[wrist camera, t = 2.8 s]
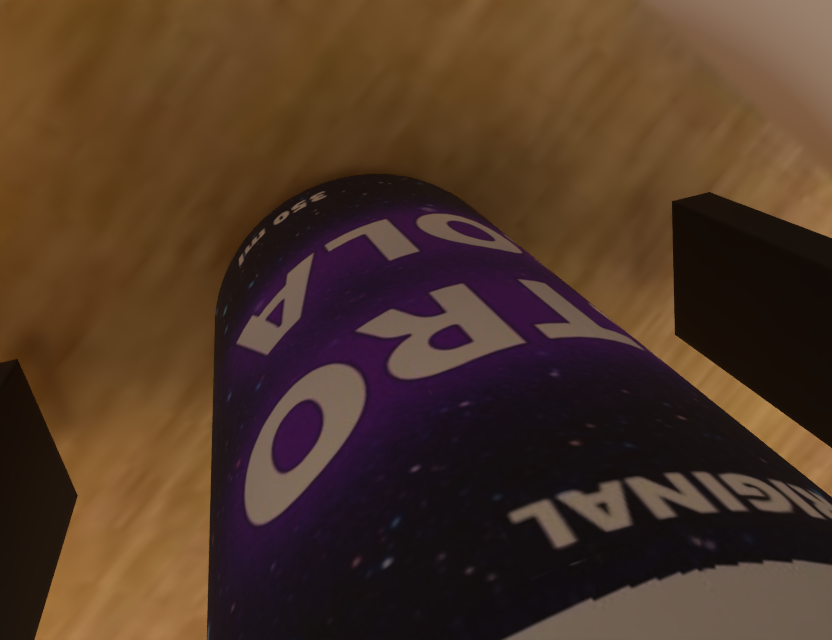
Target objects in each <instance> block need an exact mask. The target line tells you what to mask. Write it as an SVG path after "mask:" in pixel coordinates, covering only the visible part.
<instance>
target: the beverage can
mask: <svg viewBox="0 0 832 640" xmlns="http://www.w3.org/2000/svg"><path fill="white" fill-rule="evenodd" d="M207 640H832V497H831V496H829V495H828V494H827V493H826V492H824V491H823V490H822V489H821V488H819V487H818V486H817V485H816V484H814V483H813V482H812V481H811V480H809V479H808V478H807V477H806V476H804V475H803V474H802V473H801V472H800V471H798V470H797V469H796V468H795V467H793V466H792V465H791V464H790V463H788V462H787V461H786V460H785V459H783V458H782V457H781V456H780V455H778V454H777V453H776V452H775V451H773V450H772V449H771V448H770V447H768V446H767V445H766V444H765V443H764V442H762V441H761V440H760V439H759V438H757V437H756V436H755V435H754V434H752V433H751V432H750V431H749V430H747V429H746V428H745V427H744V426H742V425H741V424H740V423H739V422H737V421H736V420H735V419H734V418H732V417H731V416H730V415H729V414H728V413H726V412H725V411H724V410H723V409H721V408H720V407H719V406H718V405H716V404H715V403H714V402H713V401H711V400H710V399H709V398H708V397H706V396H705V395H704V394H703V393H701V392H700V391H699V390H698V389H696V388H695V387H694V386H693V385H692V384H690V383H689V382H688V381H687V380H685V379H684V378H683V377H682V376H680V375H679V374H678V373H677V372H675V371H674V370H673V369H672V368H670V367H669V366H668V365H667V364H665V363H664V362H663V361H662V360H660V359H659V358H658V357H657V356H656V355H654V354H653V353H652V352H651V351H649V350H648V349H647V348H646V347H644V346H643V345H642V344H641V343H639V342H638V341H637V340H636V339H634V338H633V337H632V336H631V335H629V334H628V333H627V332H626V331H625V330H623V329H622V328H621V327H620V326H618V325H617V324H616V323H615V322H613V321H612V320H611V319H610V318H608V317H607V316H606V315H605V314H603V313H602V312H601V311H600V310H598V309H597V308H596V307H595V306H593V305H592V304H591V303H590V302H589V301H587V300H586V299H585V298H584V297H582V296H581V295H580V294H579V293H577V292H576V291H575V290H574V289H572V288H571V287H570V286H569V285H567V284H566V283H565V282H564V281H562V280H561V279H560V278H559V277H557V276H556V275H555V274H554V273H553V272H551V271H550V270H549V269H548V268H546V267H545V266H544V265H543V264H541V263H540V262H539V261H538V260H536V259H535V258H534V257H533V256H531V255H530V254H529V253H528V252H526V251H525V250H524V249H523V248H521V247H520V246H519V245H518V244H517V243H515V242H514V241H513V240H512V239H510V238H509V237H508V236H507V235H505V234H504V233H503V232H502V231H500V230H499V229H498V228H497V227H495V226H494V225H493V224H492V223H490V222H489V221H488V220H487V219H486V218H484V217H483V216H482V215H481V214H479V213H478V212H477V211H476V210H474V209H473V208H472V207H471V206H469V205H468V204H467V203H465V202H464V201H463V200H461V199H460V198H458V197H457V196H455V195H453V194H452V193H450V192H448V191H446V190H444V189H442V188H440V187H438V186H435V185H433V184H431V183H428V182H424V181H421V180H418V179H414V178H410V177H405V176H398V175H388V174H366V175H356V176H350V177H344V178H340V179H336V180H332V181H329V182H326V183H323V184H320V185H317V186H315V187H312V188H310V189H308V190H305V191H304V192H302V193H300V194H298V195H296V196H294V197H292V198H291V199H289V200H288V201H286V202H284V203H283V204H282V205H280V206H279V207H277V208H276V209H275V210H273V211H272V212H271V213H270V214H269V215H268V216H266V217H265V218H264V219H263V220H262V221H261V222H260V223H259V224H258V225H257V226H256V227H255V228H254V229H253V230H252V232H251V233H250V234H249V235H248V236H247V238H246V239H245V240H244V242H243V243H242V245H241V246H240V247H239V249H238V251H237V252H236V254H235V256H234V257H233V259H232V261H231V263H230V265H229V267H228V269H227V271H226V274H225V277H224V279H223V282H222V285H221V288H220V292H219V296H218V301H217V306H216V316H215V347H214V386H213V424H212V463H211V502H210V540H209V579H208V618H207Z"/></svg>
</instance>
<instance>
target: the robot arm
mask: <svg viewBox="0 0 832 640" xmlns="http://www.w3.org/2000/svg"><path fill="white" fill-rule="evenodd" d="M672 224H673V269H674V314H675V335H676V336H678V337H679V338H680V339H682V340H683V341H685V342H686V343H687V344H689V345H690V346H692V347H693V348H694V349H696V350H697V351H698V352H700V353H701V354H703V355H704V356H705V357H707V358H708V359H710V360H711V361H712V362H714V363H715V364H716V365H718V366H719V367H721V368H722V369H723V370H725V371H726V372H727V373H729V374H730V375H732V376H733V377H734V378H736V379H737V380H739V381H740V382H741V383H743V384H744V385H745V386H747V387H748V388H750V389H751V390H752V391H754V392H755V393H757V394H758V395H759V396H761V397H762V398H763V399H765V400H766V401H768V402H769V403H770V404H772V405H773V406H774V407H776V408H777V409H779V410H780V411H781V412H783V413H784V414H786V415H787V416H788V417H790V418H791V419H792V420H794V421H795V422H797V423H798V424H799V425H801V426H802V427H804V428H805V429H806V430H808V431H809V432H810V433H812V434H813V435H815V436H816V437H817V438H819V439H820V440H821V441H823V442H824V443H826V444H827V445H828V446H830V447H831V448H832V238H829V237H827V236H824V235H821V234H819V233H816V232H813V231H811V230H808V229H806V228H803V227H800V226H798V225H795V224H792V223H790V222H787V221H784V220H782V219H779V218H776V217H774V216H771V215H769V214H766V213H763V212H761V211H758V210H755V209H753V208H750V207H747V206H745V205H742V204H739V203H737V202H734V201H732V200H729V199H726V198H724V197H721V196H718V195H716V194H713V193H710V192H708V193H704V194H700V195H696V196H692V197H688V198H683V199H679V200H675V201H672ZM77 496H78V495H77V493H76V491H75V488H74V486H73V484H72V482H71V479H70V477H69V475H68V473H67V470H66V468H65V466H64V463H63V461H62V459H61V457H60V454H59V452H58V450H57V448H56V445H55V443H54V441H53V438H52V436H51V434H50V432H49V429H48V427H47V425H46V423H45V420H44V418H43V416H42V413H41V411H40V409H39V407H38V404H37V402H36V400H35V397H34V395H33V393H32V391H31V388H30V386H29V384H28V382H27V379H26V377H25V375H24V372H23V370H22V368H21V366H20V363H19V361H18V359H15V360H11V361H7V362H3V363H0V640H34V639H35V636H36V632H37V629H38V626H39V622H40V619H41V616H42V612H43V609H44V606H45V602H46V599H47V596H48V592H49V589H50V586H51V582H52V579H53V576H54V572H55V569H56V566H57V563H58V559H59V556H60V553H61V549H62V546H63V543H64V539H65V536H66V533H67V529H68V526H69V523H70V519H71V516H72V513H73V509H74V506H75V503H76V499H77Z"/></svg>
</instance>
